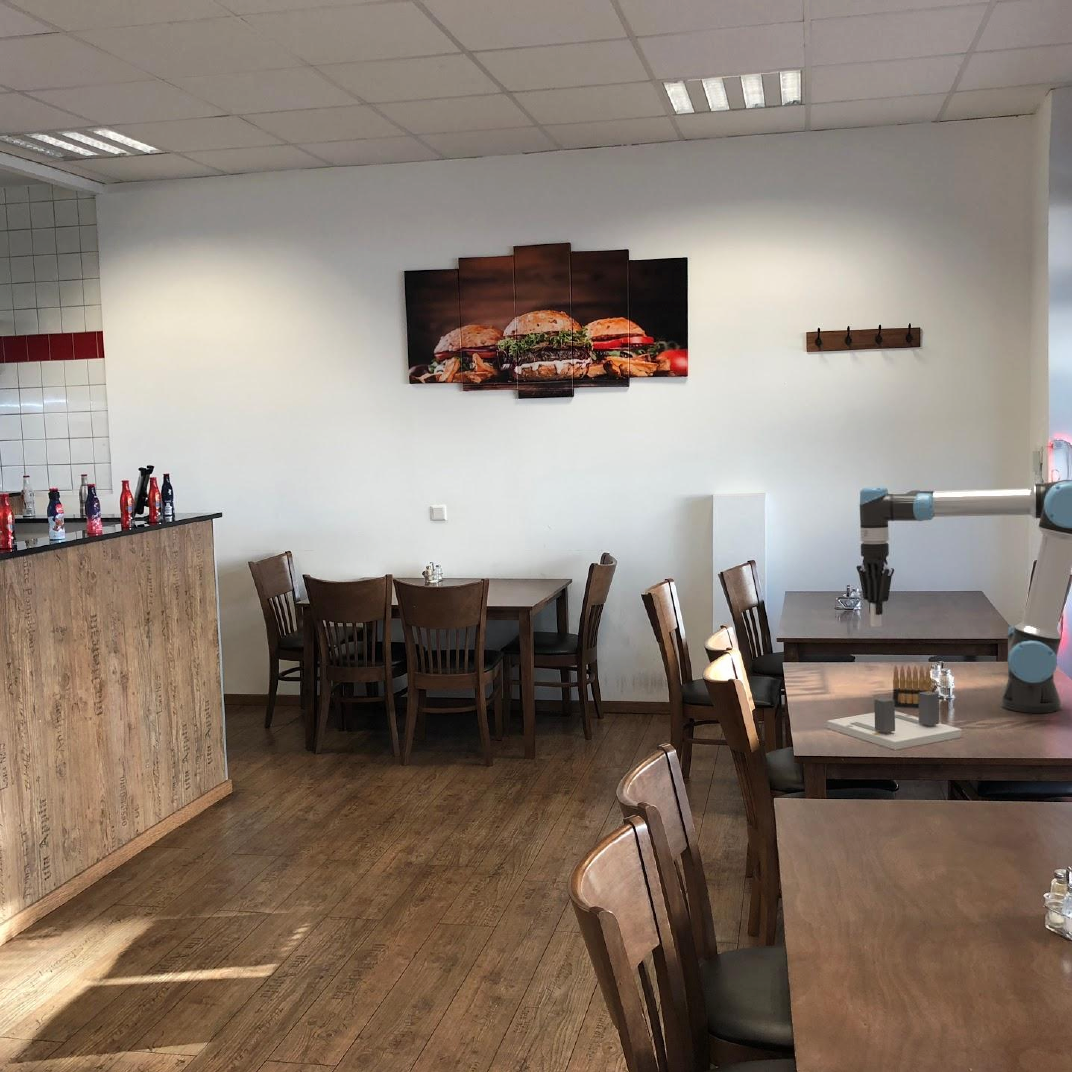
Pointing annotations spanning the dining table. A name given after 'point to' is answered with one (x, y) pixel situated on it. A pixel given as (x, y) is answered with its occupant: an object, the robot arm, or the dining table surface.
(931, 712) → the block
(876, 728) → the block
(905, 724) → the switch panel
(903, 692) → the ammunition clip
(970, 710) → the dining table surface
